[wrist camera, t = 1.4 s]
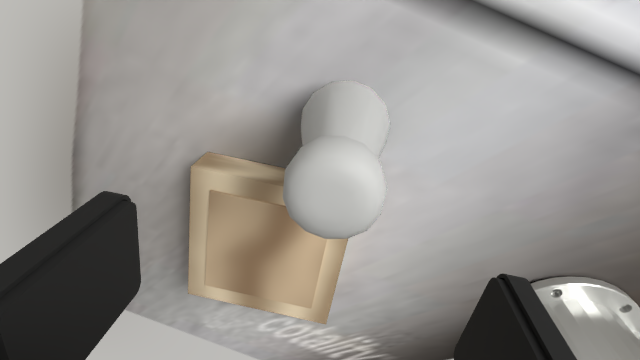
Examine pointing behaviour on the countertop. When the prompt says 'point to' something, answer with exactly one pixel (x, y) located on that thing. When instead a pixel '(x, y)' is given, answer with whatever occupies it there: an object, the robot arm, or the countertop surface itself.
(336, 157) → the salt shaker
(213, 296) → the base board
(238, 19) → the countertop surface
